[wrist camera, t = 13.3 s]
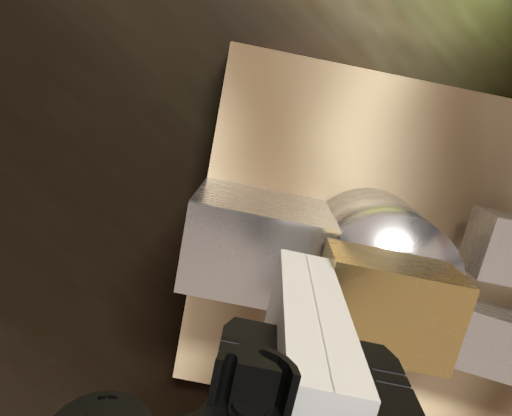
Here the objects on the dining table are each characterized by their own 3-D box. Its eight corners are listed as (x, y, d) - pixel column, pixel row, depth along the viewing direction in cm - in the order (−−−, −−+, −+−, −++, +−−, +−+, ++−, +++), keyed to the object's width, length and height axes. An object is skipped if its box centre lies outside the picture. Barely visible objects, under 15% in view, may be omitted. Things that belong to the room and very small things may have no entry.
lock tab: (307, 316, 15) (313, 352, 13) (326, 237, 15) (336, 261, 13) (425, 339, 15) (450, 379, 13) (450, 261, 15) (480, 290, 13)
